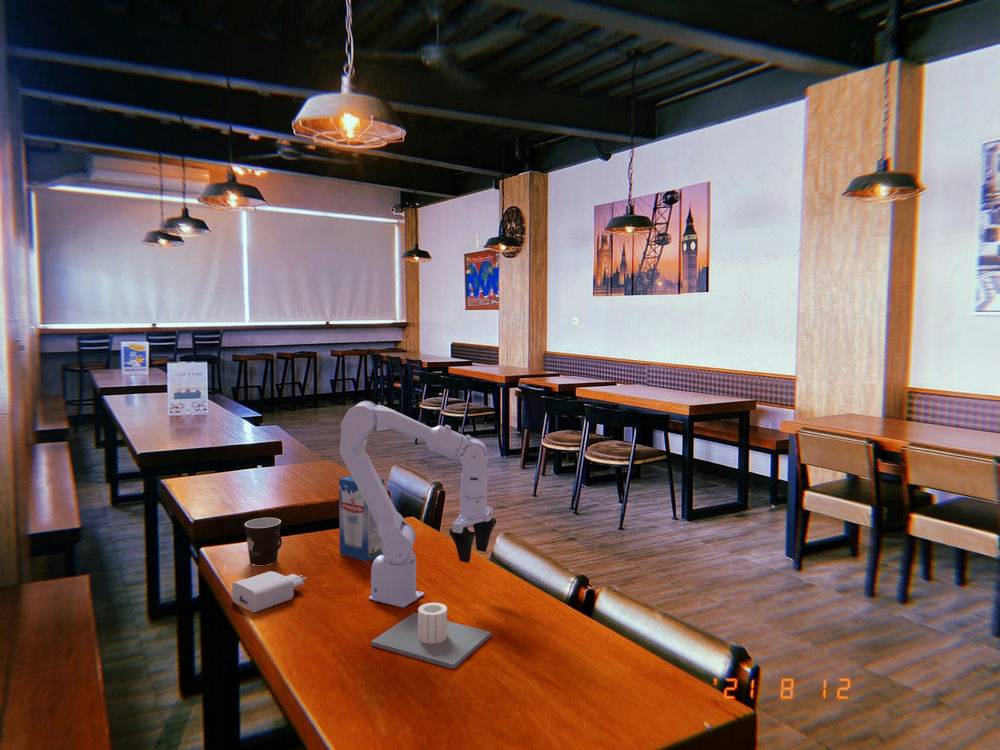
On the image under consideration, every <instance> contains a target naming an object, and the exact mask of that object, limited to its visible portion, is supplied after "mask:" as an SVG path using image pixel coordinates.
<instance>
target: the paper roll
mask: <svg viewBox="0 0 1000 750" xmlns="http://www.w3.org/2000/svg"><path fill="white" fill-rule="evenodd" d="M417 614H418V639H419V640H420V641H421V642H424V643H428V644H435V643H439V642H442V641H444V640H445V639H446V638H447V621H448V606H447V605H445V604H443V603H440V602H427V603H424V604H421V605H419V606H418V609H417Z"/></svg>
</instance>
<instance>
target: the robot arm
mask: <svg viewBox="0 0 1000 750" xmlns="http://www.w3.org/2000/svg"><path fill="white" fill-rule="evenodd" d="M375 428H376V432H382V431H387V430H394V431H397V432H399V433H402V434H405V435H408V436H410V437H413V438H416V439H418V440H421V441H423V442H425V443H426V445H427V447H428V449H429V451H432V452H435V453H437V454H439V455H442V456H444V457H446V458H448V459H452V460H454V462H455V461H460V463H461V466H462V469H461V475H460V514H459V516H458V517H457V518H456V520H455V521H453V522H452V527H451V528H449V535H450V537H451V538H452V540H453V542H454V545H455V547H456V551H457V555H458V560H459V562H461V563H466V564H467V563H468V564H469V563H470V560H471V556H472V547H473V543H474V539H475V547H476V550H477V551H478V552H483V553H485V552H487V550H488V546H489V541H490V538H491V535H492V532H493V530H494V528H495V526H496V524H497V518H493V517H494V507H490V506H488V504H487V503H488V475H487V473H486V472H487V471H488V468H487V467H488V466H487V463H488V461H489V455H488V449H487V446H486V444H485V443H484V442H483V441H482V440H480V439H479V438H477V437H472V436H471V435H469V434H466V435H464V434H461V433H459V432H458V431H455V430H452V429H451V428H452V427H451V425H448V424H445V425H444V426H443V425H440V424H439V425H437V426H435V427H431V426H428V425H426V424H424V423H422V422H420V421H418V420H415V419H413V418H412V417H409V416H407V415H405V414H403V413H401V412H398V411H397V410H395V409H392V408H390V407H387V406H384V405H382V404H376V403H374V402H372V401H369V400H363V401H360V402H358V403H357V404H355V405H354V406H353V407H351V408H349V409H348V411H347V412H346V413H345V415H344V417H343V419H342V421H341V423H340V441H339V453H340V456H341V458H342V460H343V462H344V464H345V466H346V468H347V470H348V472H349V473H350V476H352V477H353V479H354V481H355V483H356V485H357V487H358V489H359V491H360V493H361V495H362V497H363V498H364V500H365V502H366V504H367V506H368V508H369V510H370V512H371V514H372V516H373V518H374V520H375V522H376V524H377V527H378V533H379V537H380V539H381V541H382V545H383V547H382V551H383V555H379V556H378V557H377V558H375V559H373V562H372V564H371V568H370V596H368V599H369V600H371V601H375V602H379V603H383V604H387V605H391V606H395V607H399V608H406V607H407V606H409V605H410V604H413V602H415V601H417V600H419V598H421V597H423V596H424V595H425V593H424V592H423V591H418V590H417V555H416V553H415V552H414V550H413V547H414V543H415V541H416V538H417V537H416V530H415V529H414V527H413V526H412V525H411V524H409V523H407V522H406V521H405V519H404V518H403V516H402V514H401V513H400V512H398V511H397V508H396V507H395V505H394V502H393V501H392V499H391V498H390V497H391V496H390V495H389V493H388V491H387V489H386V488H385V484H384V485H383V483H382V482H381V480H380V479H381V477H380V476H379V474H378V472H377V470H376V468H375V466H374V464H373V462H372V460H371V458H370V456H369V454H368V453H367V450H366V445H367V443H368V440H369V437H370V434H371V432H373V430H374V429H375ZM469 527H473V531H470V529H469Z"/></svg>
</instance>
